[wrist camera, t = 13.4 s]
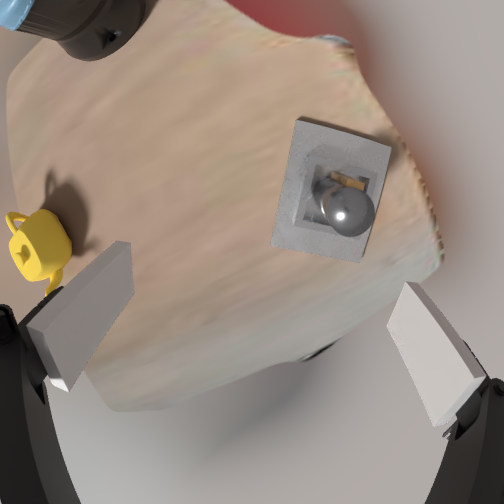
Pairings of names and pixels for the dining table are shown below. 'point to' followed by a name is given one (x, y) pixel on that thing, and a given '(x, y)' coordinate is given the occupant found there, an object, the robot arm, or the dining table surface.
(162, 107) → the dining table surface
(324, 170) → the collar
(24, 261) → the teapot
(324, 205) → the grey rounded cylinder
